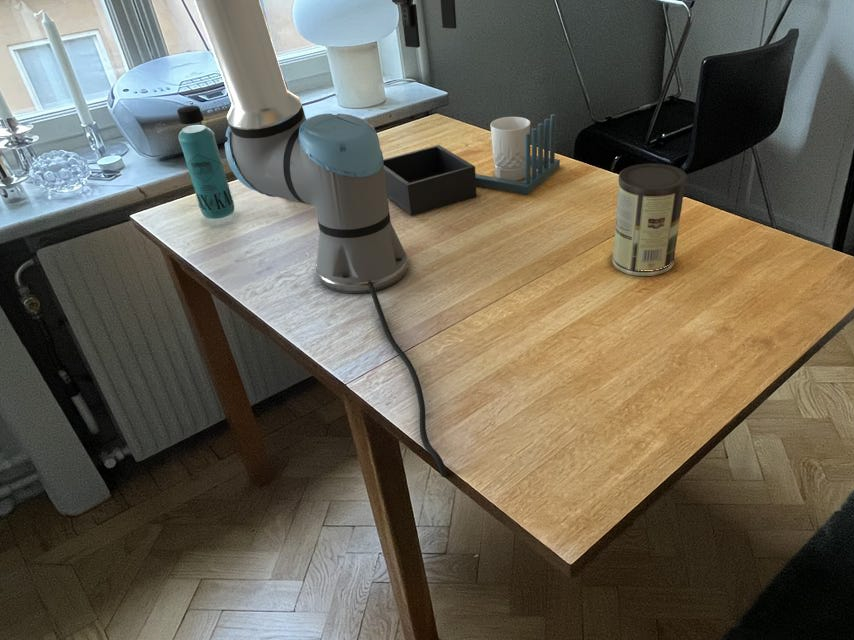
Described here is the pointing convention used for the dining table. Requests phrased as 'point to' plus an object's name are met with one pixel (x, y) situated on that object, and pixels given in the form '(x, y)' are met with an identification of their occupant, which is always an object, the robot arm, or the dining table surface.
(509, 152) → the white cup
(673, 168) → the coffee can
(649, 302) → the dining table surface
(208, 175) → the beverage bottle
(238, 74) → the robot arm
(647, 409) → the dining table surface
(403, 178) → the black square tray
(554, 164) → the drying rack
